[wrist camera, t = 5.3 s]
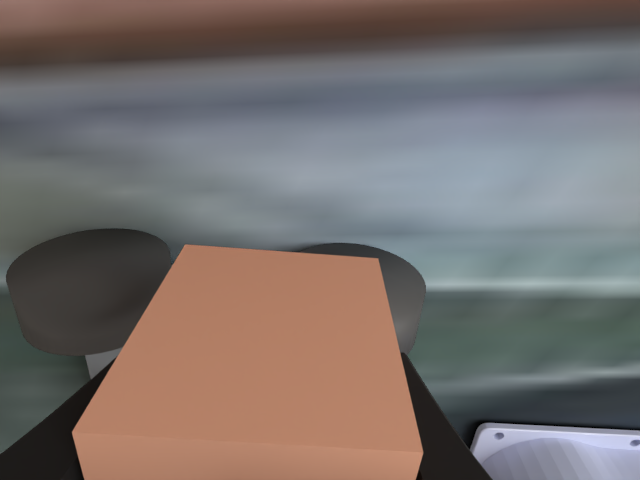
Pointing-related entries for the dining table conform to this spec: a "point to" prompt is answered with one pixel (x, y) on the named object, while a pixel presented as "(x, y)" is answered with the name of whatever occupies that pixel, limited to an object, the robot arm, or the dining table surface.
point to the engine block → (256, 376)
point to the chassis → (143, 290)
